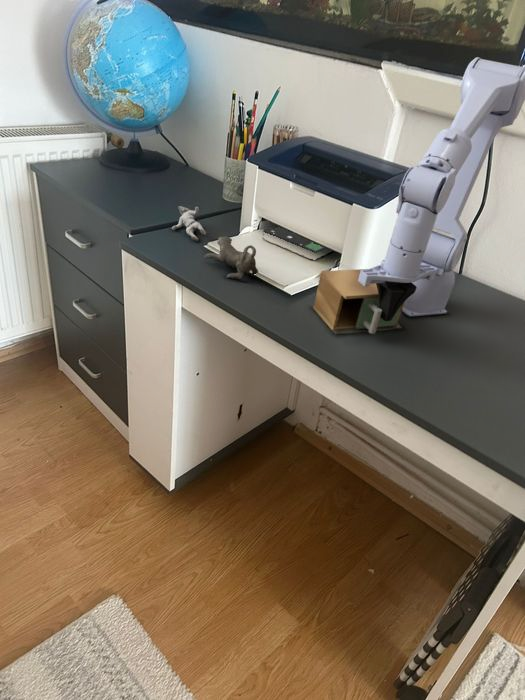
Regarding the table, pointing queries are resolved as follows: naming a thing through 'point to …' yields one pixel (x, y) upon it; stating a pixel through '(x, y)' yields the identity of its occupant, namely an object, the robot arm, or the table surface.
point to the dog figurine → (235, 258)
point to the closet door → (372, 315)
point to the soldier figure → (189, 222)
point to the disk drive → (294, 239)
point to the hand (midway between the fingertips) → (384, 318)
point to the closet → (344, 301)
